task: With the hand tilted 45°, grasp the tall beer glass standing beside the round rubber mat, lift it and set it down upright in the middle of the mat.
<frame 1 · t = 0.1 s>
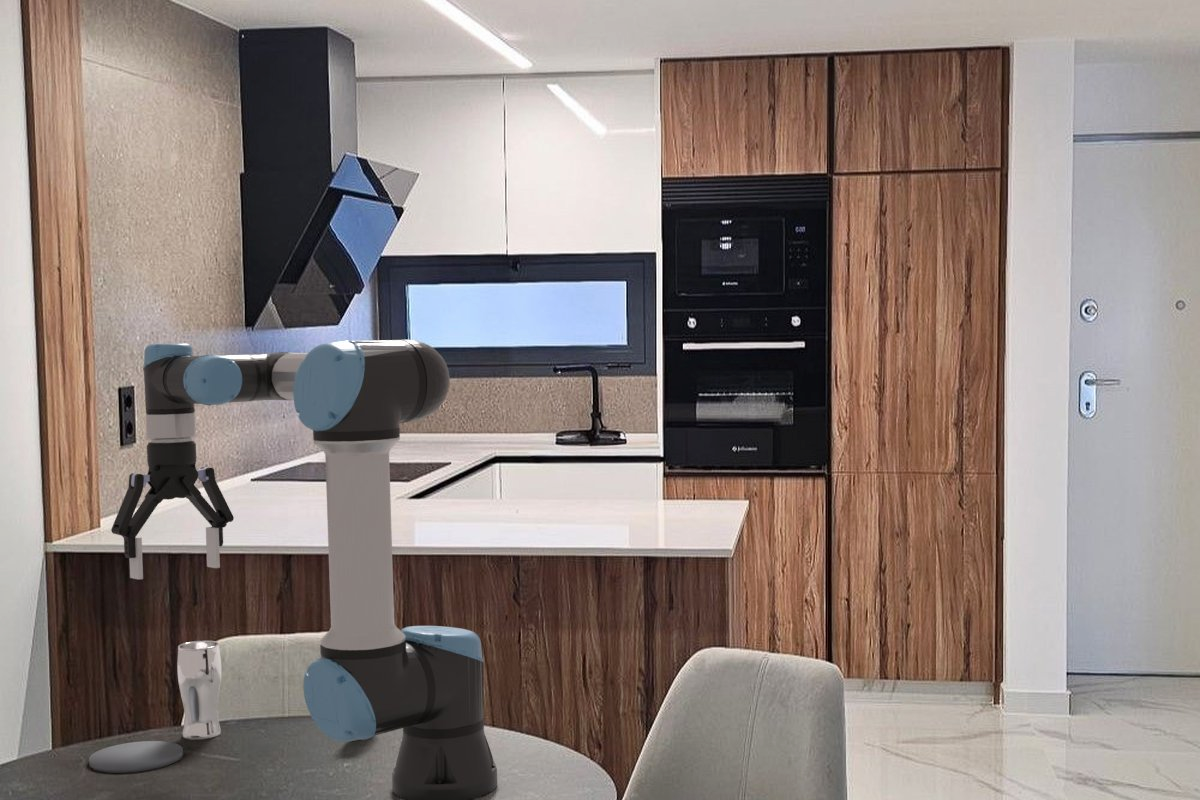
hand: (175, 572, 234), 28 cm above the table, tool pointing down, fingers open, 13 cm apart
beer glass: (201, 735, 241), on the table
mat: (136, 758, 228), on the table
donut: (362, 738, 238), on the table
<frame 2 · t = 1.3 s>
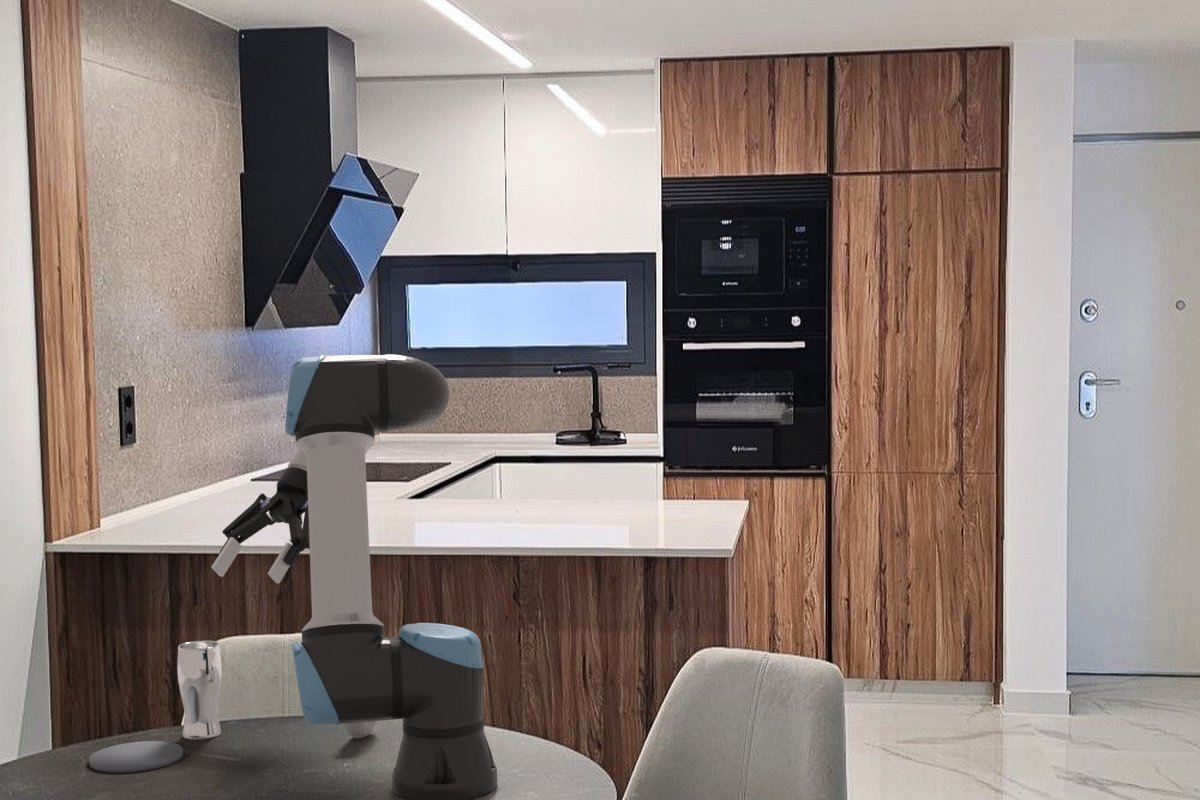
hand: (244, 575, 249), 25 cm above the table, tool tilted 45°, fingers open, 13 cm apart
nothing on the table moved.
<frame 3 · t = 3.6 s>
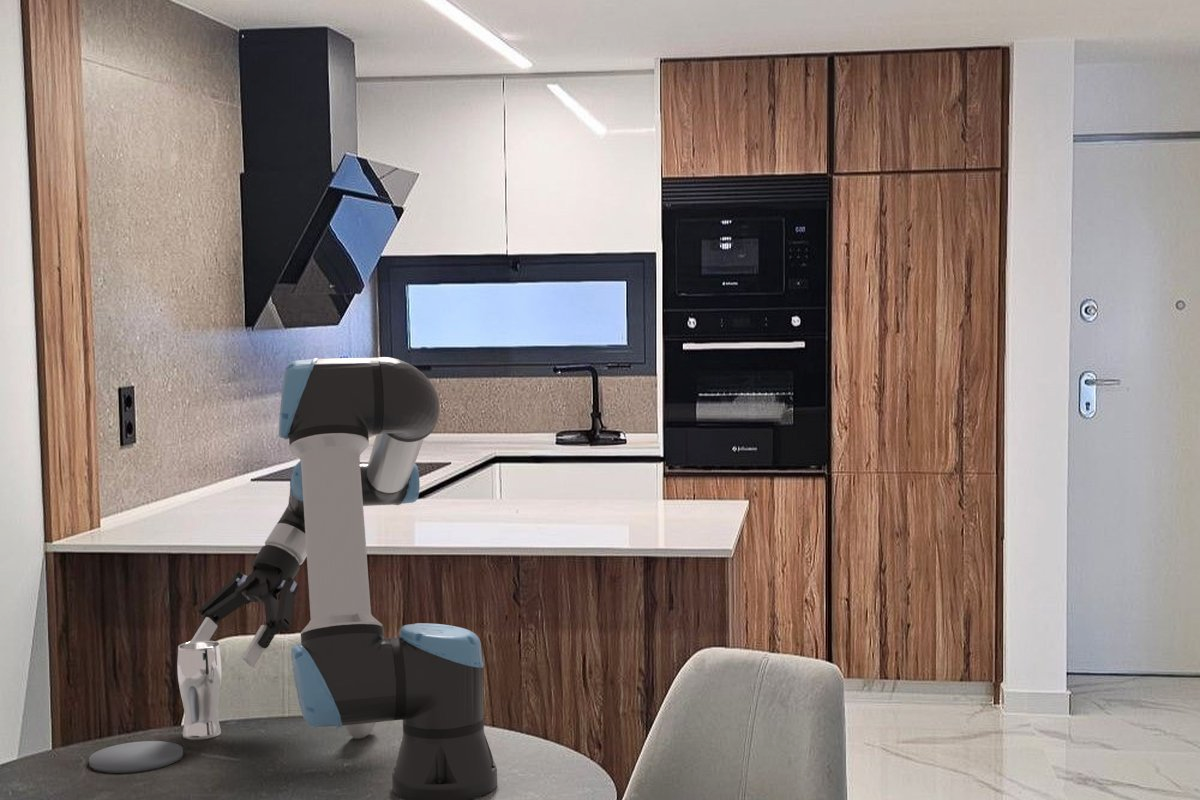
hand: (219, 658, 245), 12 cm above the table, tool tilted 45°, fingers open, 13 cm apart
nothing on the table moved.
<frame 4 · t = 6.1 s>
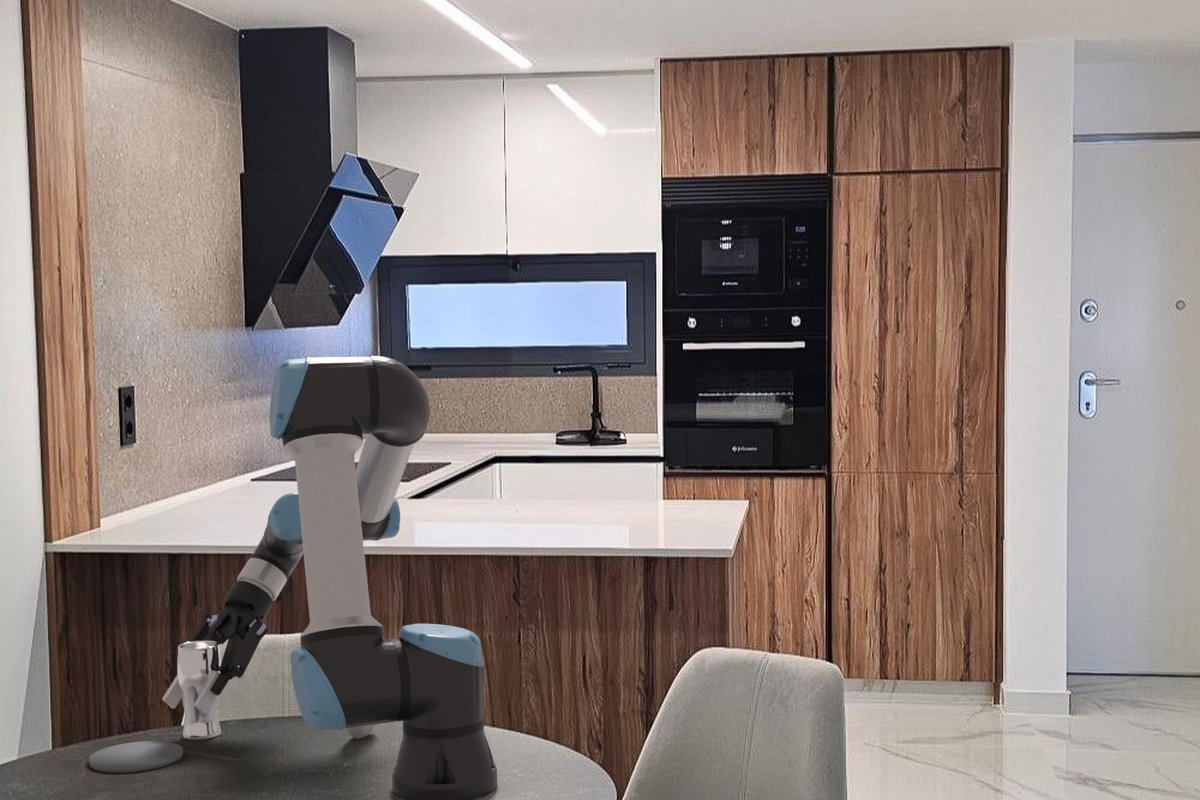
hand: (184, 706, 238), 5 cm above the table, tool tilted 45°, fingers closed on beer glass, 7 cm apart
beer glass: (202, 735, 241), on the table, touching gripper
everything else where it was.
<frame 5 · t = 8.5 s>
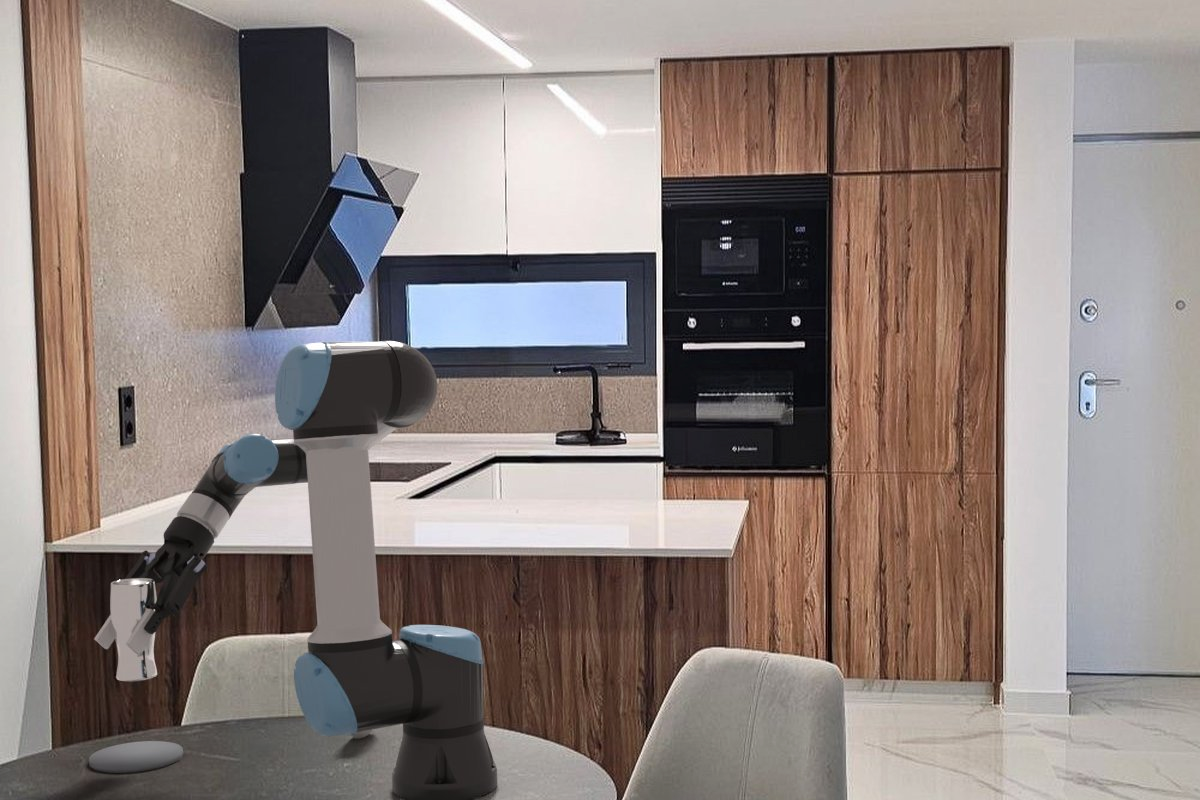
hand: (116, 646, 225), 18 cm above the table, tool tilted 45°, fingers closed on beer glass, 7 cm apart
beer glass: (137, 678, 228), point 13 cm above the table, touching gripper
everything else where it was.
when the fingers open (8 cm above the table, at t = 11.3 s): beer glass drops 2 cm, resting on mat.
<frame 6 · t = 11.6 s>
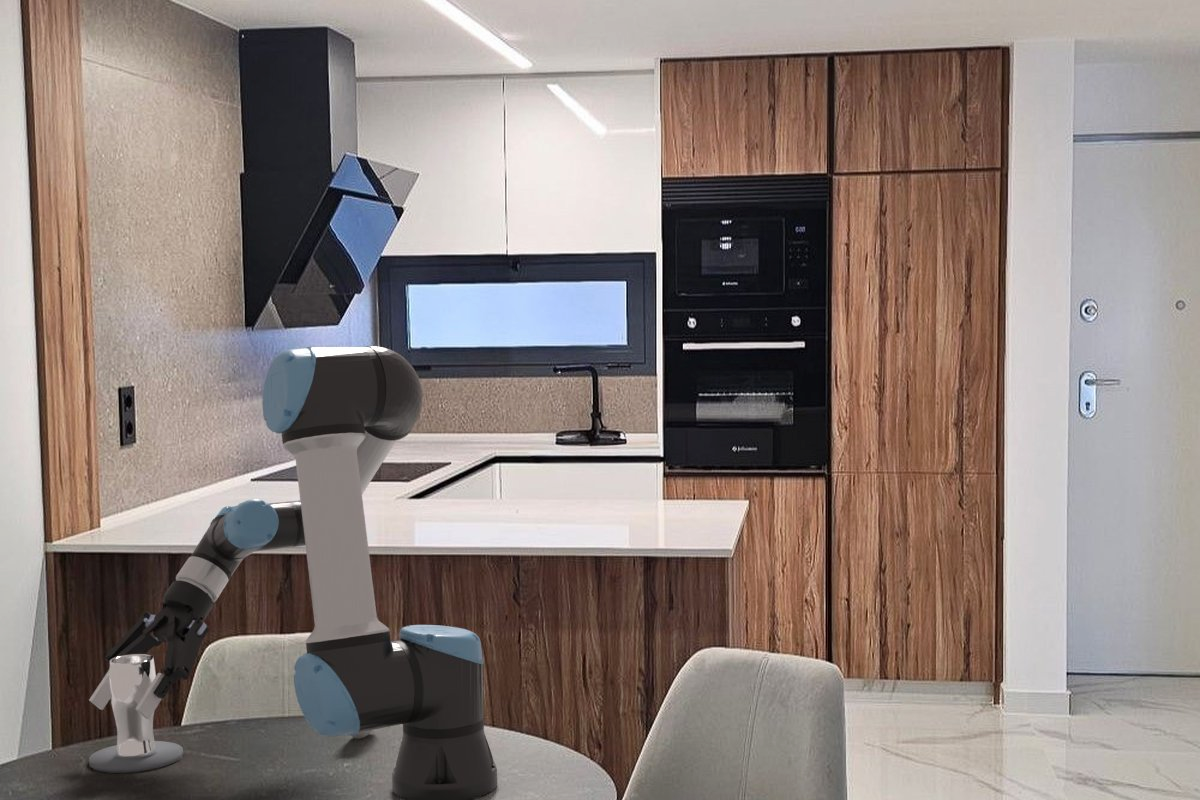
hand: (118, 709, 225), 9 cm above the table, tool tilted 45°, fingers open, 10 cm apart
beer glass: (136, 754, 228), point 1 cm above the table, touching mat
everything else where it was.
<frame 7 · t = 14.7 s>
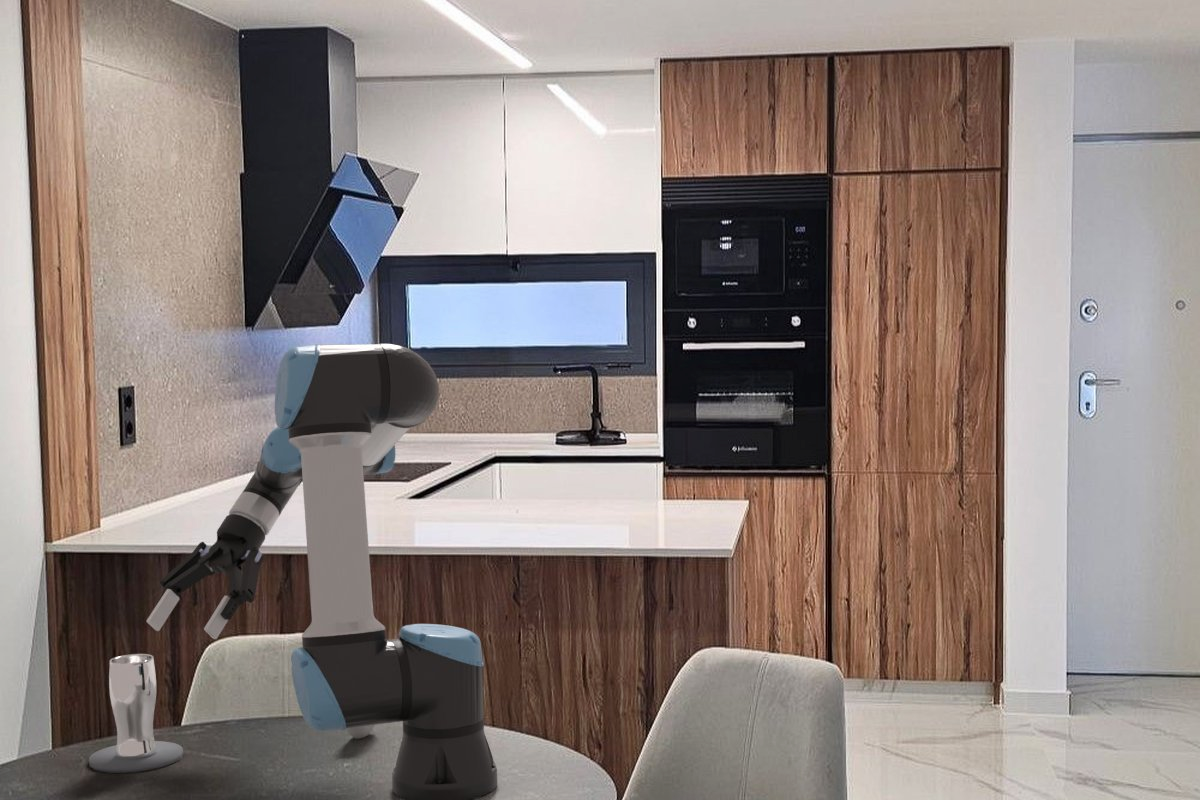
hand: (180, 630, 235), 18 cm above the table, tool tilted 45°, fingers open, 13 cm apart
nothing on the table moved.
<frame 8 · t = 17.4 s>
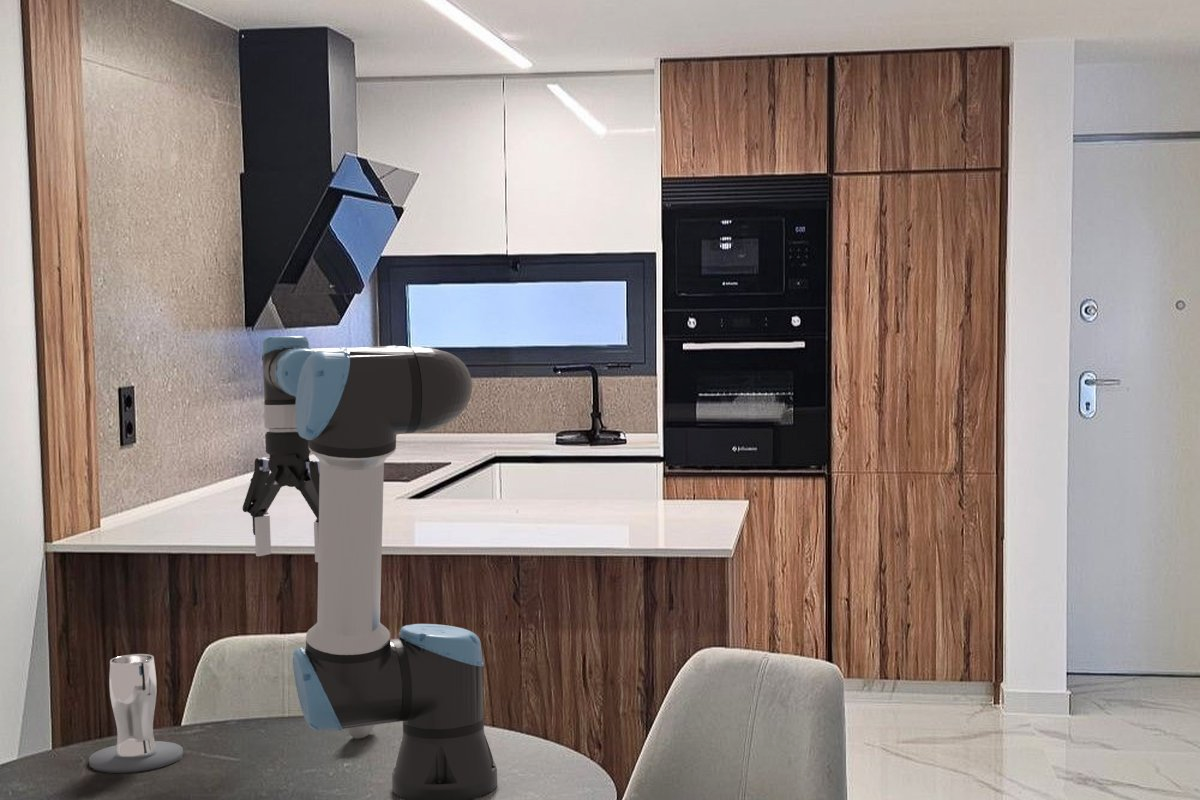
hand: (292, 558, 241), 29 cm above the table, tool pointing down, fingers open, 13 cm apart
nothing on the table moved.
at the end: beer glass 0.1 cm from the mat (horizontally); beer glass tilted 0°; beer glass touching mat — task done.
